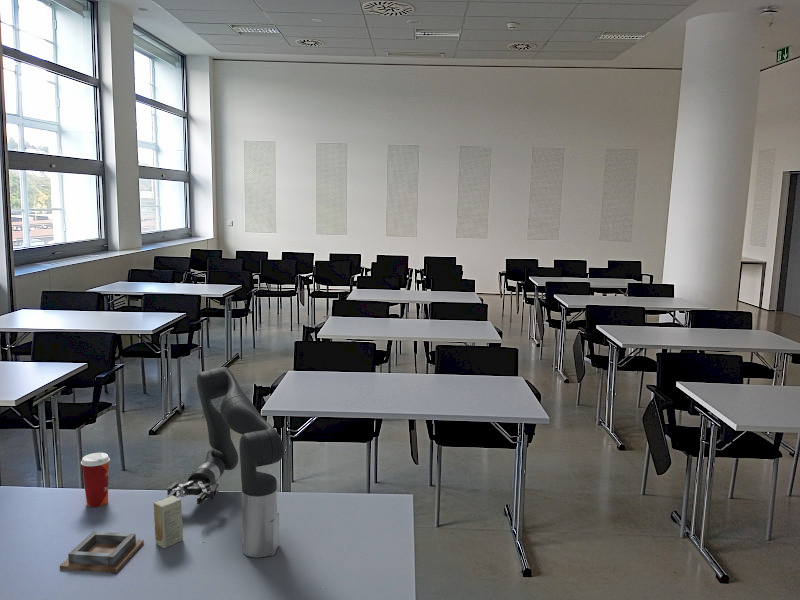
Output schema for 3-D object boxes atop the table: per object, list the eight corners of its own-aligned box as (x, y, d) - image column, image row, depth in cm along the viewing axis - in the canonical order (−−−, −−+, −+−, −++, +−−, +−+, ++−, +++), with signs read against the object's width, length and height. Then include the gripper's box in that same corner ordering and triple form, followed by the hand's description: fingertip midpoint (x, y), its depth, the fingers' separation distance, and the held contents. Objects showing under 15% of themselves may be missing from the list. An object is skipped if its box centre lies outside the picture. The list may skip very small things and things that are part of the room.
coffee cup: (116, 502, 208) (114, 456, 206) (89, 511, 202) (87, 464, 200) (104, 494, 213) (102, 449, 211) (78, 502, 207) (75, 456, 205)
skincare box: (174, 535, 188) (173, 494, 187) (183, 540, 186) (182, 498, 184) (154, 544, 183) (152, 501, 182) (162, 549, 181) (161, 506, 179)
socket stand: (143, 543, 184) (143, 531, 183) (116, 573, 169) (116, 560, 168) (91, 540, 185) (90, 528, 184) (59, 569, 170) (59, 556, 169)
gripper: (182, 465, 210) (159, 487, 194) (226, 468, 209) (207, 489, 193) (182, 488, 211) (160, 511, 195) (226, 490, 210) (208, 514, 194)
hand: (184, 500), depth 194 cm, fingers open, 8 cm apart
